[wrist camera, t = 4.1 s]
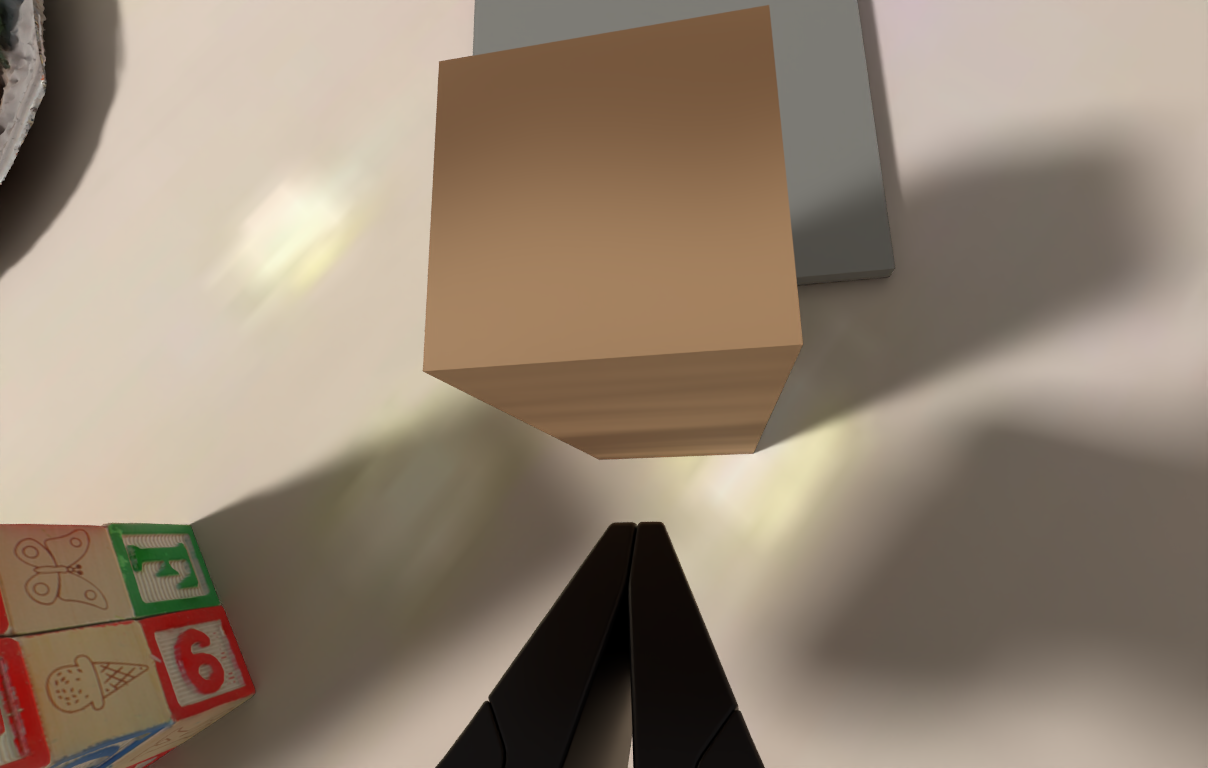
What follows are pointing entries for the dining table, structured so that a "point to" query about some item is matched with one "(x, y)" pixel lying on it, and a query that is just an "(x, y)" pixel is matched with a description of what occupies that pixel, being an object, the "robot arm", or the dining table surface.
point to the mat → (806, 100)
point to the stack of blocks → (109, 645)
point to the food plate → (19, 74)
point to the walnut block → (617, 237)
